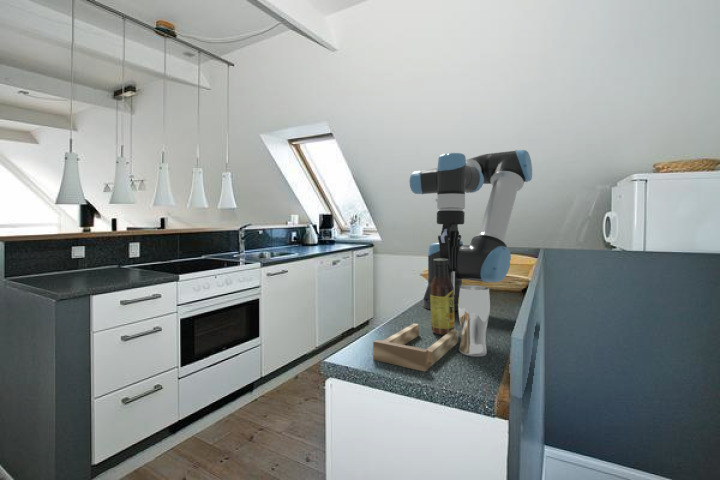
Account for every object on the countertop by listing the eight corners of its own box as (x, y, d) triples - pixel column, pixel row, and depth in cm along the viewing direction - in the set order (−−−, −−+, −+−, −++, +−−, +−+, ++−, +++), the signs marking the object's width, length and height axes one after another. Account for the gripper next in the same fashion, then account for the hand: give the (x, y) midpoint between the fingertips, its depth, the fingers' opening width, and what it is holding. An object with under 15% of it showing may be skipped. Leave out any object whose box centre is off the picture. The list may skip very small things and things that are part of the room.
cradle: (413, 334, 99) (413, 319, 99) (458, 342, 93) (458, 326, 92) (373, 359, 81) (373, 341, 81) (425, 371, 74) (425, 351, 74)
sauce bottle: (455, 336, 97) (454, 261, 94) (431, 335, 98) (428, 262, 96) (454, 327, 103) (452, 256, 101) (431, 326, 105) (429, 257, 102)
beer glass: (485, 359, 81) (487, 291, 80) (453, 354, 84) (454, 288, 84) (491, 350, 87) (492, 286, 86) (461, 345, 90) (462, 284, 90)
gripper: (445, 211, 111) (443, 289, 112) (429, 209, 100) (427, 296, 101) (470, 211, 107) (468, 292, 108) (456, 209, 96) (454, 299, 97)
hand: (448, 294), depth 104 cm, fingers closed
